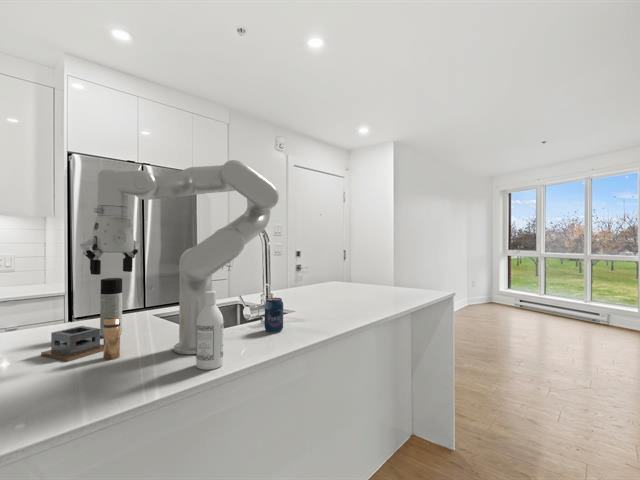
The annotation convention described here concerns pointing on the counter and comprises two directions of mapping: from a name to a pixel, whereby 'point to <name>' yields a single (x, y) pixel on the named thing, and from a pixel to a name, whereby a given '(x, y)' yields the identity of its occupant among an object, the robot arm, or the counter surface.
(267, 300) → the soda can
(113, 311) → the spray can
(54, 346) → the collar stand
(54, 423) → the counter surface
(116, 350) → the copper tube
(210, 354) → the bath foam
